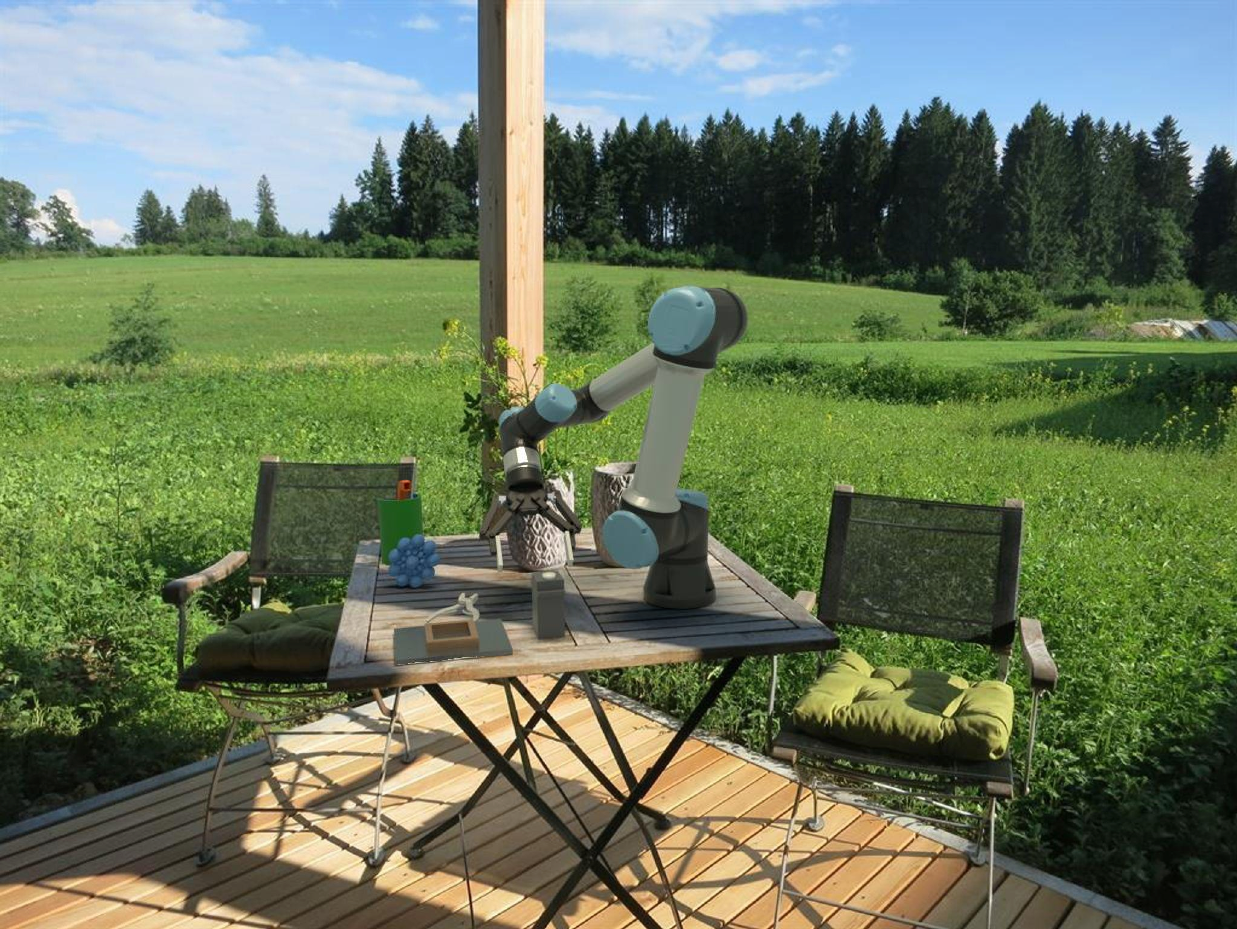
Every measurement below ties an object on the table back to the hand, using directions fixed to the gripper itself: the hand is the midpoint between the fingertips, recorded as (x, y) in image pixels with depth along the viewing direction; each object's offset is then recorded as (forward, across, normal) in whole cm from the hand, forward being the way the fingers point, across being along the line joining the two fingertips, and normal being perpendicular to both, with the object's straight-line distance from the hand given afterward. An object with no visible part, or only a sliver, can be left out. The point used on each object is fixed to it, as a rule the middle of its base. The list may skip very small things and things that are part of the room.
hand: (535, 566), depth 171 cm
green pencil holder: (-28, +24, -44) cm, 58 cm away
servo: (+13, -1, -3) cm, 13 cm away
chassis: (+13, +17, -2) cm, 22 cm away
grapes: (-12, +22, -28) cm, 38 cm away
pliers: (+1, +14, -15) cm, 21 cm away
